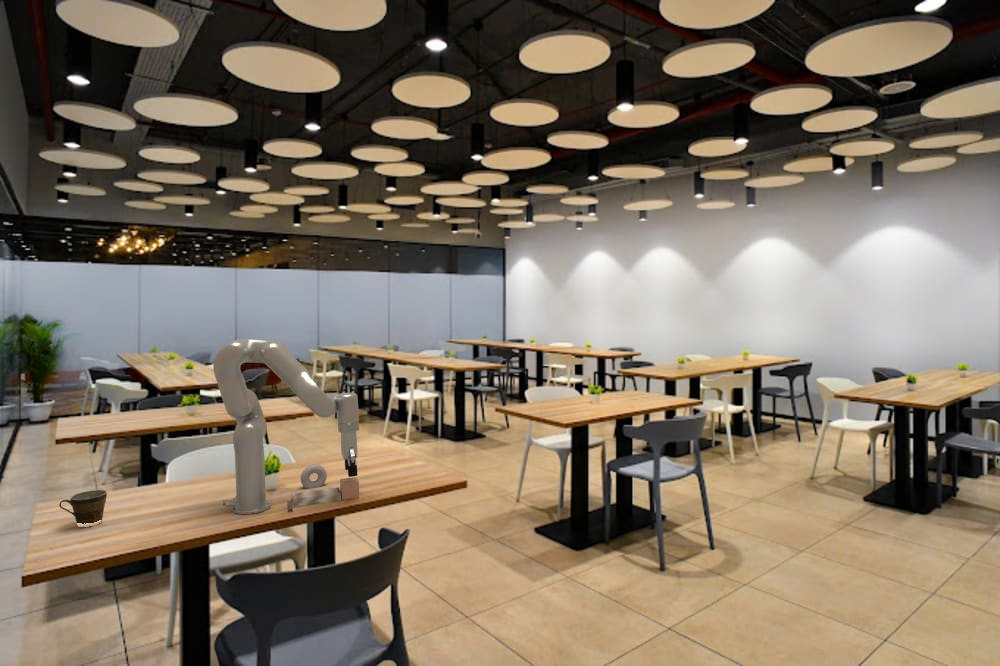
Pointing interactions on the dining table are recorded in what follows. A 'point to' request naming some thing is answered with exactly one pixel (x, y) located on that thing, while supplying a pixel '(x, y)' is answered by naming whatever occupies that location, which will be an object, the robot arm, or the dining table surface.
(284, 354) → the robot arm
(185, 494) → the dining table surface
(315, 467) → the donut
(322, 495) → the board
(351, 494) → the taped shipping carton
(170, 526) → the dining table surface
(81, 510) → the ceramic cup
